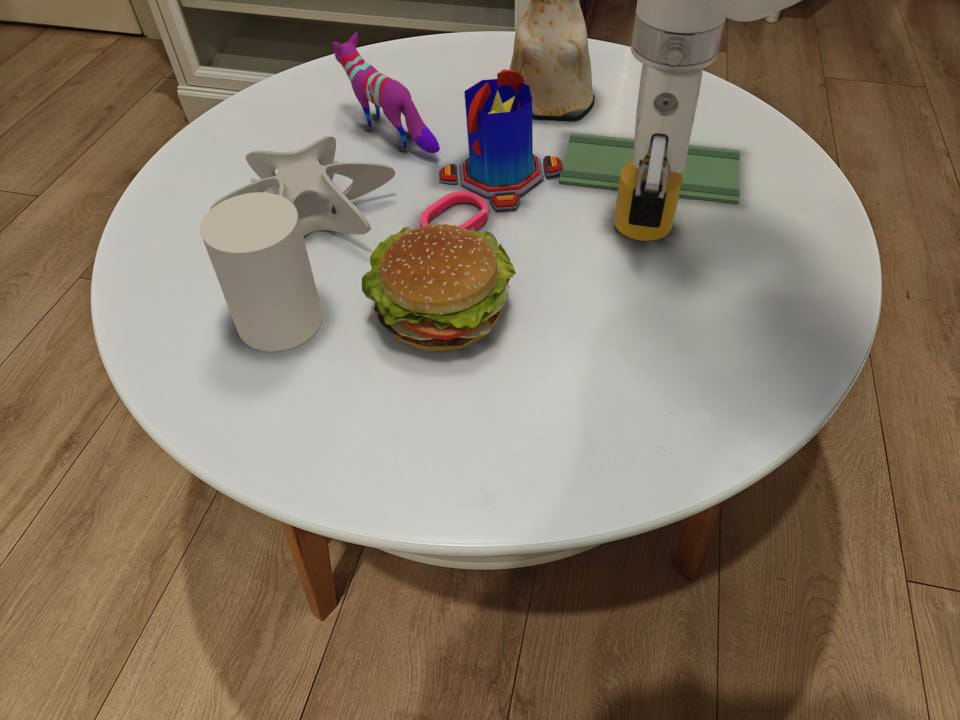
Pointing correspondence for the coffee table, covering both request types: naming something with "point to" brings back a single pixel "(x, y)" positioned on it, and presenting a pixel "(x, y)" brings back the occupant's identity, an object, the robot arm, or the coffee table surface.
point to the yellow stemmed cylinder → (625, 197)
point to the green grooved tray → (606, 156)
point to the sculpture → (316, 185)
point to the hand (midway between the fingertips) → (646, 202)
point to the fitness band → (455, 198)
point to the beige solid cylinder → (263, 270)
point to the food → (438, 285)
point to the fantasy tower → (500, 142)
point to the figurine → (554, 59)
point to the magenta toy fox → (383, 97)
